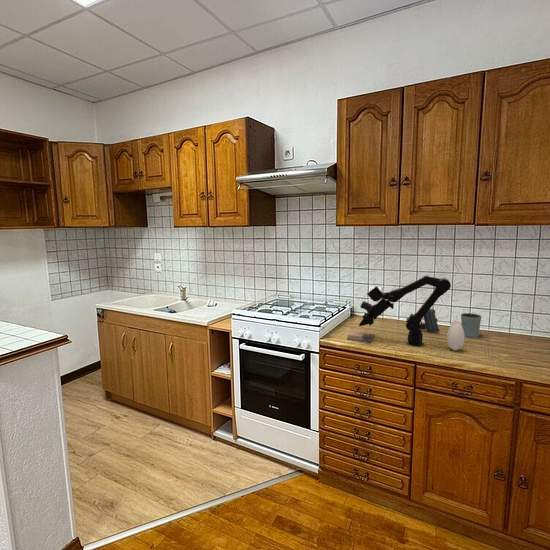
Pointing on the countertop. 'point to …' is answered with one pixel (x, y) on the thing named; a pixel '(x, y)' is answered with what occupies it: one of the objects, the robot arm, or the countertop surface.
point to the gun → (430, 321)
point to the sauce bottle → (455, 335)
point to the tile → (356, 334)
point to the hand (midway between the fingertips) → (359, 325)
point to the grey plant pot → (470, 324)
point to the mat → (366, 338)
